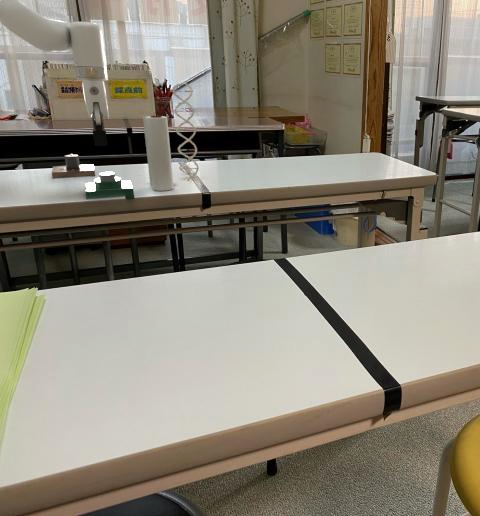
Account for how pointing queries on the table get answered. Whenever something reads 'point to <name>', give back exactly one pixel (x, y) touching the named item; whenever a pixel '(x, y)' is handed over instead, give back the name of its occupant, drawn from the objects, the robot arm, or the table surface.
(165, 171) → the paper towel roll
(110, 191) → the green stepped block
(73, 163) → the dial
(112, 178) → the button
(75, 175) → the warmer panel
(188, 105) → the dna model
